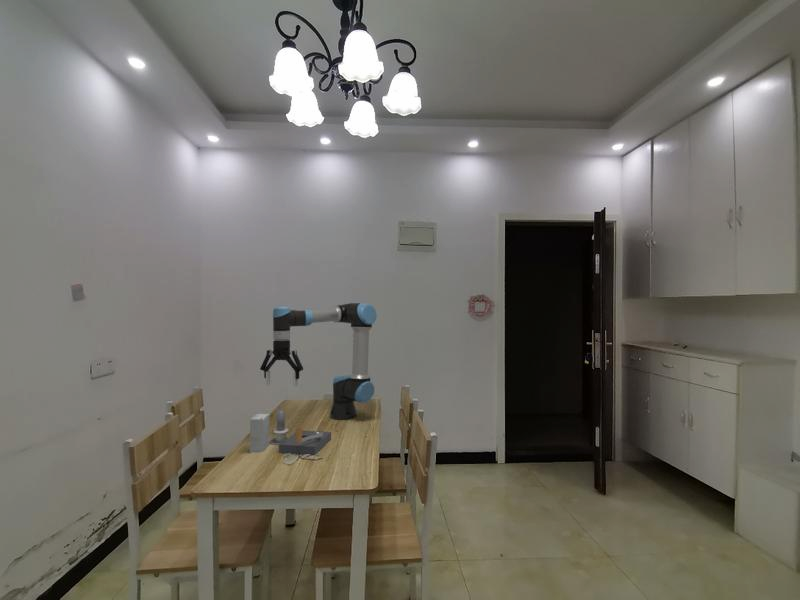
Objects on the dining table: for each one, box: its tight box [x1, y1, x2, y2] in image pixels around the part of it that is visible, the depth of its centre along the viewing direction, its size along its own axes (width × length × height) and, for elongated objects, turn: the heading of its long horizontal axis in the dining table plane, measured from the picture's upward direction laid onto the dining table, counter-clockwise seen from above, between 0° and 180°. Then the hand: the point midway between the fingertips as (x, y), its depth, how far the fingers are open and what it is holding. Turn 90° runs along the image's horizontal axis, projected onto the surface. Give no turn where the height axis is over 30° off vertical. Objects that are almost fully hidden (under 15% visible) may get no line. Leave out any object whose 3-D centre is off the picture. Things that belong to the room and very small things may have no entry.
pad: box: [269, 436, 288, 446], centre depth 183 cm, size 10×10×1 cm
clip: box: [295, 426, 323, 443], centre depth 171 cm, size 5×14×6 cm, turn 138°
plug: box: [272, 408, 290, 443], centre depth 183 cm, size 7×7×14 cm
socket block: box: [278, 429, 332, 456], centre depth 177 cm, size 20×16×6 cm
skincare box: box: [249, 413, 270, 454], centre depth 173 cm, size 8×6×15 cm
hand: (281, 385), depth 184 cm, fingers open, 13 cm apart
